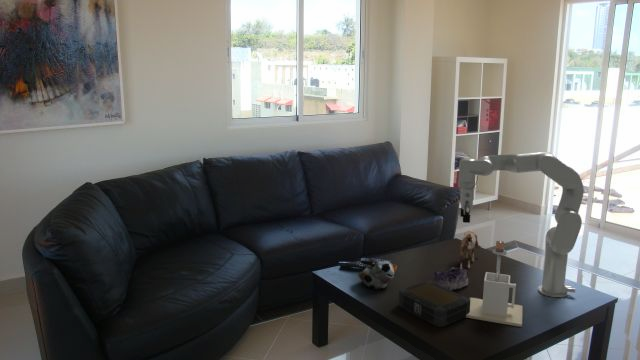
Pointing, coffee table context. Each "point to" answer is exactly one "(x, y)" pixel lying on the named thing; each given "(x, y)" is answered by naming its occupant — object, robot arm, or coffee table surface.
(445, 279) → the geode
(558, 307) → the coffee table surface
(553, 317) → the coffee table surface
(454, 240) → the coffee table surface
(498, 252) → the plunger
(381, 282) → the lucky cat figurine
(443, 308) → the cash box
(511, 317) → the square white mug
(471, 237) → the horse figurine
